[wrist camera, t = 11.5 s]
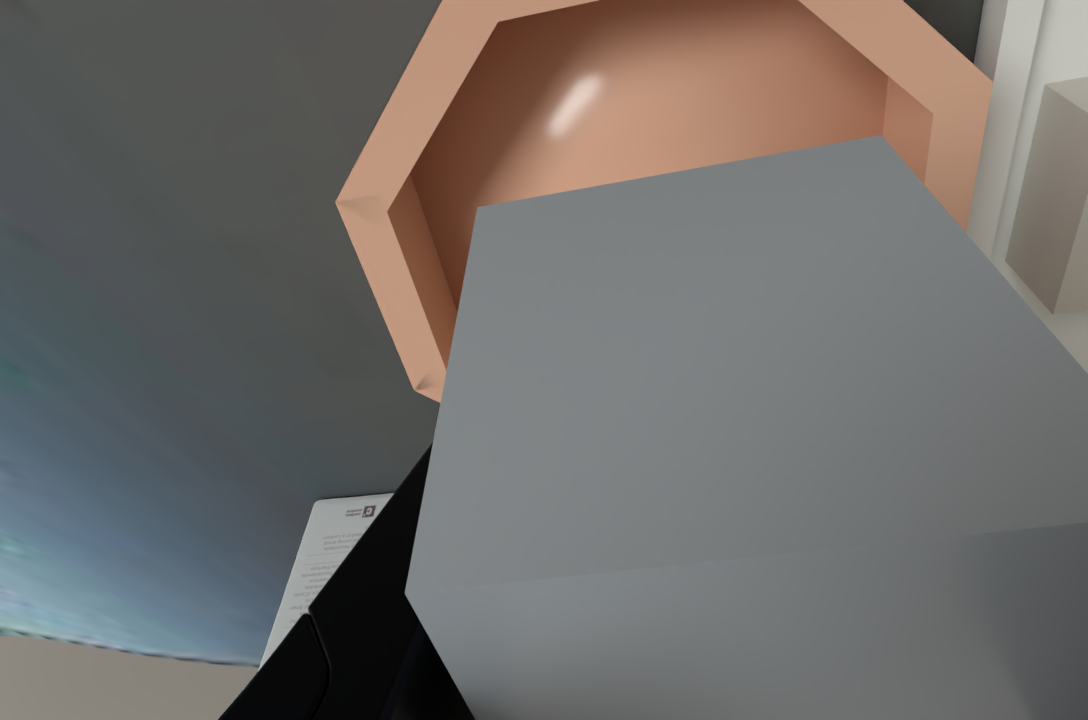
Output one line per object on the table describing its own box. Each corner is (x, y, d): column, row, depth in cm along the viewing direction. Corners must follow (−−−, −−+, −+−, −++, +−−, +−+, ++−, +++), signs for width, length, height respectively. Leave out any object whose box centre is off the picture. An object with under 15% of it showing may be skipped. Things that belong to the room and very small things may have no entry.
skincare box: (311, 496, 26) (171, 899, 17) (426, 485, 26) (348, 895, 16) (365, 593, 30) (275, 966, 21) (466, 585, 29) (421, 964, 20)
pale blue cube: (880, 135, 8) (1206, 508, 4) (855, 428, 10) (1030, 823, 7) (477, 207, 8) (405, 593, 4) (551, 466, 11) (548, 848, 7)
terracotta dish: (957, -178, 14) (1038, -166, 11) (891, 358, 22) (930, 430, 19) (301, -26, 15) (255, 11, 13) (465, 415, 23) (454, 487, 21)
